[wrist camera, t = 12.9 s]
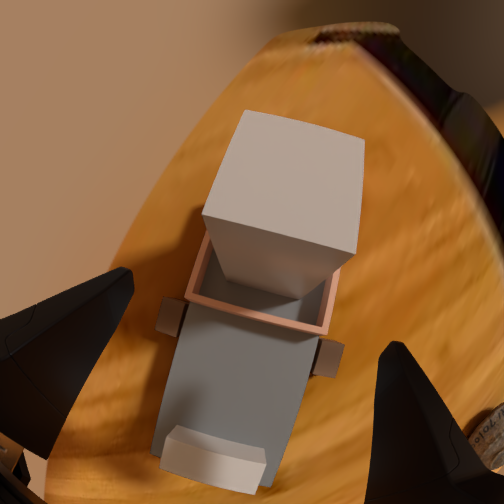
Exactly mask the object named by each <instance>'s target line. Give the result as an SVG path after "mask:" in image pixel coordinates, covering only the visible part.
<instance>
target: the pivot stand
mask: <svg viewBox="0 0 504 504" xmlns="http://www.w3.org/2000/svg"><path fill="white" fill-rule="evenodd" d="M189 304H190V303H188V302H184V301H181V300H178V299H175V298H170V297H163V299H162V303H161V307H160V310H159V314H158V318H157V322H156V326H155V330H156V331H159V332H162V333H165V334H167V335H170V336H173V337H179V336H180V334H181V330H182V327H183V323H184V320H185V317H186V313H187V310H188V307H189ZM344 346H345V345H344V344H342V343H339V342H337V341H333V340H328V339H324V338H319V339H318V343H317V347H316V351H315V355H314V359H313V363H312V366H311V370H310V371H311V373H312V374H314V375H320V376H325V377H331V378H335V376H336V373H337V370H338V366H339V363H340V360H341V356H342V353H343V349H344Z"/></svg>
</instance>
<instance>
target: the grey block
mask: <svg viewBox="0 0 504 504" xmlns="http://www.w3.org/2000/svg"><path fill="white" fill-rule="evenodd" d="M364 145H365V140H363V139H360V138H357V137H354V136H351V135H348V134H345V133H342V132H339V131H335V130H332V129H328V128H325V127H321V126H318V125H314V124H310V123H306V122H302V121H298V120H294V119H289V118H285V117H280V116H276V115H271V114H266V113H261V112H255V111H250V110H245V111H244V113H243V115H242V117H241V120H240V122H239V124H238V126H237V128H236V131H235V133H234V135H233V138H232V140H231V142H230V144H229V147H228V149H227V152H226V154H225V156H224V159H223V161H222V163H221V166H220V168H219V171H218V173H217V176H216V178H215V181H214V183H213V186H212V188H211V191H210V193H209V196H208V198H207V201H206V204H205V206H204V209H203V211H202V217H203V220H204V223H205V225H206V228H207V231H208V233H209V236H210V239H211V241H212V244H213V247H214V249H215V252H216V255H217V257H218V260H219V263H220V265H221V268H222V270H223V273H224V276H225V278H226V281H229V282H233V283H237V284H240V285H244V286H248V287H252V288H255V289H259V290H263V291H267V292H271V293H274V294H278V295H282V296H286V297H290V298H294V299H298V300H300V299H301V298H303V297H304V296H305V295H307V294H308V293H309V292H310V291H312V290H313V289H314V288H315V287H317V286H318V285H319V284H320V283H322V282H323V281H324V280H325V279H327V278H328V277H329V276H330V275H331V274H333V273H334V272H335V271H336V270H337V269H339V268H340V267H341V266H342V265H343V264H345V263H346V262H347V261H348V260H349V259H350V258H352V257H353V256H354V255H355V254H356V247H357V239H358V231H359V222H360V212H361V201H362V188H363V171H364Z"/></svg>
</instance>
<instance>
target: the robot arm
mask: <svg viewBox="0 0 504 504" xmlns="http://www.w3.org/2000/svg"><path fill="white" fill-rule="evenodd" d="M133 293H134V281H133V273H132V271H131V270H130V269H127V268H124V267H119V268H116V269H114V270H112V271H109V272H107V273H105V274H102V275H100V276H98V277H95V278H93V279H91V280H89V281H86V282H84V283H81V284H79V285H77V286H75V287H72V288H70V289H68V290H66V291H63V292H61V293H59V294H57V295H55V296H52V297H50V298H48V299H46V300H44V301H42V302H39V303H37V305H36V304H35V305H33V306H31V307H29V308H26V309H24V310H22V311H20V312H18V313H15V314H13V315H10V316H8V317H5V318H2V319H0V504H47V503H46V502H45V501H43V500H42V499H41V498H40V497H38V496H37V495H36V494H35V493H33V492H32V491H31V490H30V489H28V488H27V486H28V484H29V482H30V480H31V478H30V474H29V471H28V468H27V464H26V461H25V457H24V453H23V450H24V448H25V449H27V450H29V451H31V452H32V453H34V454H36V455H38V456H39V457H41V458H43V459H45V460H47V459H48V457H49V455H50V453H51V451H52V448H53V446H54V444H55V442H56V439H57V437H58V435H59V433H60V431H61V429H62V427H63V425H64V423H65V421H66V418H67V416H68V414H69V412H70V410H71V408H72V406H73V404H74V402H75V400H76V399H77V397H78V395H79V393H80V391H81V389H82V387H83V385H84V384H85V382H86V380H87V378H88V376H89V374H90V373H91V371H92V369H93V367H94V366H95V364H96V362H97V360H98V359H99V357H100V355H101V353H102V352H103V350H104V348H105V347H106V345H107V343H108V342H109V340H110V338H111V337H112V335H113V333H114V332H115V330H116V328H117V326H118V324H119V322H120V320H121V318H122V316H123V314H124V312H125V310H126V308H127V306H128V304H129V302H130V300H131V298H132V296H133ZM364 504H504V476H503V475H500V474H497V473H494V472H492V471H491V470H489V469H488V468H487V467H486V466H485V465H484V463H483V462H482V460H481V459H480V457H479V456H478V454H477V453H476V451H475V450H474V449H473V447H472V446H471V444H470V443H469V441H468V440H467V438H466V437H465V435H464V434H463V432H462V430H461V429H460V427H459V426H458V424H457V422H456V421H455V419H454V418H453V417H452V414H451V413H450V411H449V409H448V408H447V406H446V405H445V403H444V402H443V400H442V398H441V397H440V395H439V394H438V392H437V391H436V389H435V388H434V386H433V385H432V383H431V382H430V380H429V379H428V377H427V376H426V374H425V373H424V371H423V370H422V368H421V367H420V366H419V364H418V363H417V361H416V360H415V358H414V357H413V356H412V354H411V353H410V351H409V350H408V349H407V347H406V346H405V344H404V343H403V342H399V341H392V342H390V343H389V345H388V346H387V347H386V348H385V350H384V351H383V352H382V353H381V355H380V357H379V361H378V371H377V381H376V389H375V399H374V421H373V437H372V449H371V459H370V468H369V476H368V483H367V489H366V495H365V501H364Z"/></svg>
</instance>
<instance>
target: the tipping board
mask: <svg viewBox="0 0 504 504" xmlns="http://www.w3.org/2000/svg"><path fill="white" fill-rule="evenodd" d="M340 268H341V267H340ZM340 268H339V269H337V270H336V271H335V272H334V273H333V274H331V275H330V276H329V277H328V278H327V279H325V280H324V281H323V282H322V283H320V284H319V285H318V286H317V287H315V288H314V289H313V290H312V291H310V292H309V293H308V294H307V295H305V296H304V297H303V298H301V299H300V300H298V299H294V298H290V297H286V296H282V295H278V294H274V293H271V292H267V291H263V290H259V289H255V288H252V287H248V286H244V285H240V284H237V283H233V282H229V281H226V278H225V276H224V273H223V270H222V268H221V265H220V263H219V260H218V257H217V255H216V252H215V249H214V247H213V244H212V241H211V239H210V236H209V233H208V231H207V230H206V232H205V235H204V238H203V241H202V244H201V247H200V250H199V253H198V256H197V258H196V261H195V264H194V267H193V271H192V274H191V277H190V280H189V283H188V286H187V289H186V292H185V295H184V298H186V299H187V300H189V301H190V304H189V307H188V310H187V313H186V317H185V320H184V323H183V327H182V330H181V334H180V337H179V340H178V344H177V347H176V351H175V355H174V358H173V362H172V365H171V369H170V373H169V376H168V380H167V384H166V388H165V392H164V395H163V399H162V403H161V407H160V411H159V415H158V420H157V424H156V428H155V432H154V436H153V441H152V445H151V450H150V454H152V455H155V456H157V457H160V458H161V461H160V465H159V468H160V469H163V470H165V471H168V472H171V473H173V474H176V475H179V476H182V477H185V478H188V479H191V480H194V481H198V482H201V483H205V484H208V485H212V486H216V487H220V488H224V489H228V490H233V491H237V492H242V493H248V494H253V495H255V492H256V490H257V487H258V485H261V486H267V487H271V485H272V482H273V480H274V477H275V475H276V472H277V470H278V467H279V465H280V462H281V460H282V457H283V454H284V452H285V449H286V446H287V443H288V440H289V438H290V435H291V432H292V429H293V426H294V423H295V420H296V417H297V414H298V411H299V407H300V404H301V401H302V398H303V394H304V391H305V388H306V384H307V381H308V377H309V374H310V370H311V366H312V363H313V359H314V355H315V351H316V347H317V343H318V339H319V336H321V335H327V332H328V328H329V324H330V319H331V315H332V310H333V305H334V300H335V295H336V290H337V285H338V280H339V274H340Z"/></svg>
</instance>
